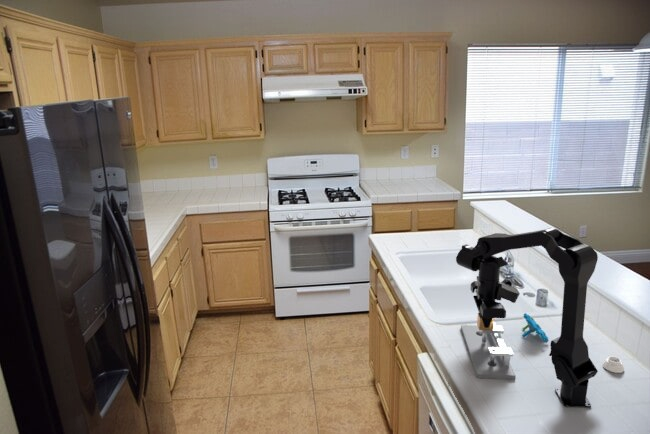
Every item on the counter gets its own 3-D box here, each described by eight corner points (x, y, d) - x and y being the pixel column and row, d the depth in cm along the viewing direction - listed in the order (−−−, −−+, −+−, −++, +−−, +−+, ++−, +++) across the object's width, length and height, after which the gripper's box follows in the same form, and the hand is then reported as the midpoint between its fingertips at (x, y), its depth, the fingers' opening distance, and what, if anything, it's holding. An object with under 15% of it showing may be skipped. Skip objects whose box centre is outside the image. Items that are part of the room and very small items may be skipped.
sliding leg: (502, 344, 137) (504, 318, 135) (478, 344, 138) (480, 317, 136) (499, 339, 140) (502, 313, 138) (476, 338, 141) (477, 313, 139)
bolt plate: (515, 379, 124) (515, 375, 124) (477, 377, 126) (477, 373, 125) (492, 329, 149) (492, 325, 149) (460, 328, 150) (461, 324, 150)
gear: (553, 344, 137) (529, 318, 138) (536, 355, 139) (513, 330, 140) (546, 329, 148) (524, 306, 148) (531, 340, 149) (509, 317, 150)
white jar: (598, 364, 130) (612, 375, 125) (599, 355, 129) (613, 365, 124) (613, 362, 131) (628, 372, 126) (615, 353, 130) (629, 363, 125)
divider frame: (512, 367, 127) (513, 353, 126) (489, 366, 128) (490, 353, 127) (493, 327, 148) (494, 314, 147) (474, 326, 149) (474, 314, 148)
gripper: (527, 291, 123) (522, 342, 128) (509, 264, 141) (505, 310, 146) (485, 290, 125) (481, 341, 129) (471, 263, 143) (468, 309, 147)
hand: (485, 324), depth 138 cm, fingers closed on sliding leg, 3 cm apart
